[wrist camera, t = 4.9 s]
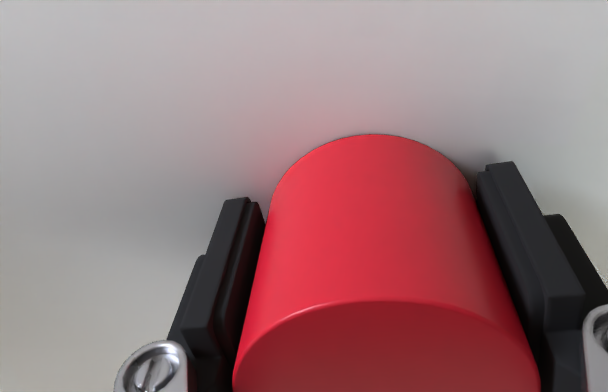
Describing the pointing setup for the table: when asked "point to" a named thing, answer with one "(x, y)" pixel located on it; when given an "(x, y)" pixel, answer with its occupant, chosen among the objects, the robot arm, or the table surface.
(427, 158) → the red cylinder
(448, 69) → the table surface
